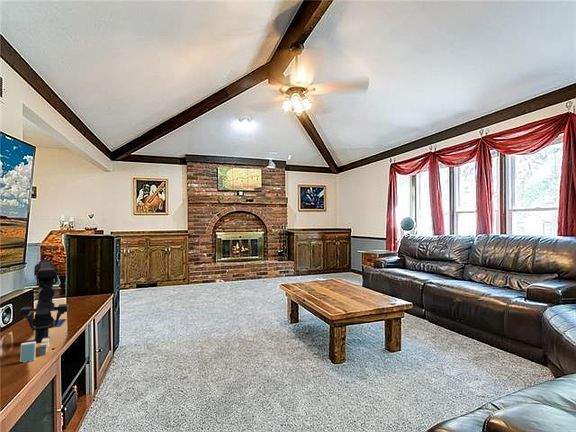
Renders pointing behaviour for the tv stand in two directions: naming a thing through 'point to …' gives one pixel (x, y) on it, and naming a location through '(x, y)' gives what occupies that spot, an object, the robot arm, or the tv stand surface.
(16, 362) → the tv stand surface
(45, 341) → the curved white panel
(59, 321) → the smartphone
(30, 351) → the tile
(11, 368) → the tv stand surface
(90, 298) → the tv stand surface
